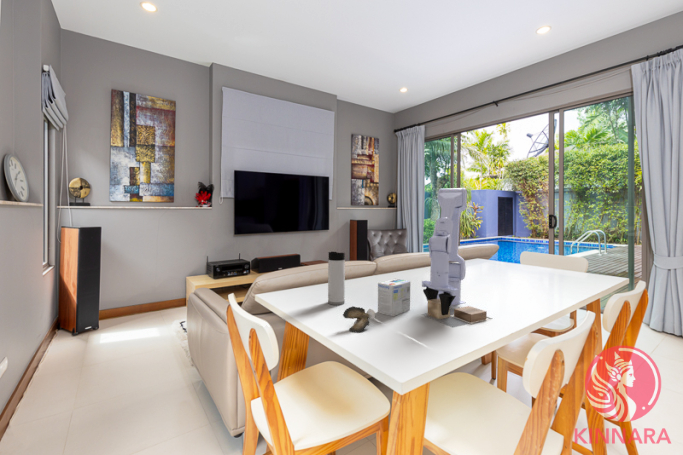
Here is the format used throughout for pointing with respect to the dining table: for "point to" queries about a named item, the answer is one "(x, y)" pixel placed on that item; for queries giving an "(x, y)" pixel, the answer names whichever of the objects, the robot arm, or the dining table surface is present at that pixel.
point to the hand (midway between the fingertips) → (438, 312)
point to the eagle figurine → (359, 317)
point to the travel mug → (336, 278)
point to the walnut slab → (470, 314)
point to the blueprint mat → (454, 319)
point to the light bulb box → (393, 297)
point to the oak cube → (436, 309)
